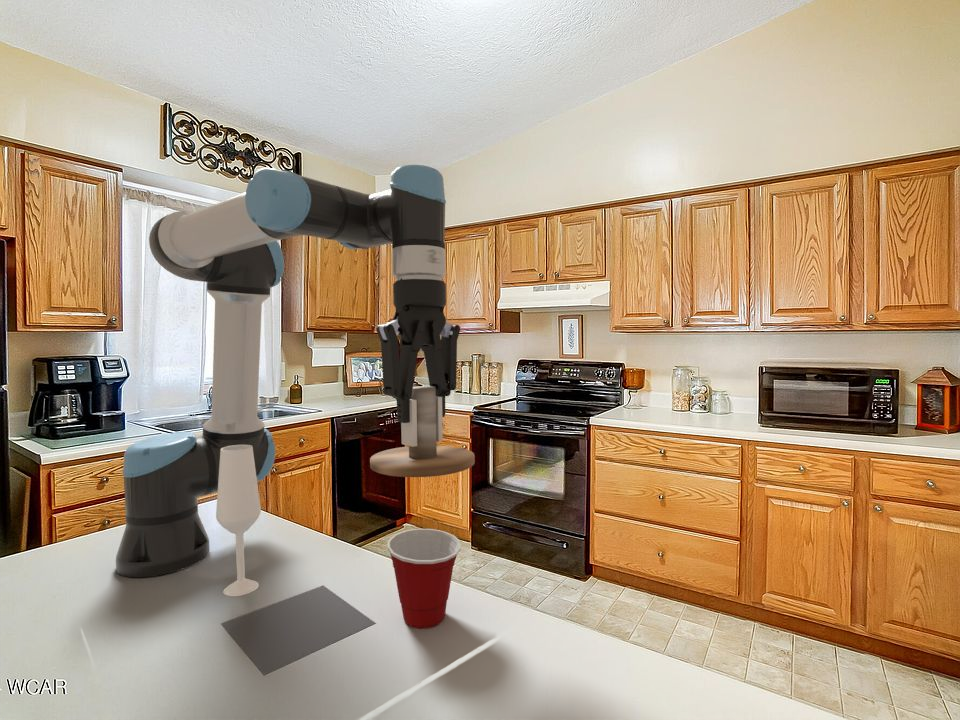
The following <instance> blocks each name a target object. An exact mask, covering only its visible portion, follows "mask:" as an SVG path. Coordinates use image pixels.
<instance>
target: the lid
mask: <svg viewBox="0 0 960 720" xmlns="http://www.w3.org/2000/svg"><path fill="white" fill-rule="evenodd" d="M411 399H414V400H416V401H417V446H414V447H412V446H408V445H407V446H402V447H401V446H400V447H395V448H390V449H385V450H382V451H379V452H377V453H374V454H373V455H371V457H370V458H369V468H370V469H371V471H374V472H375V473H378V474H380V475H385V476H390V477H398V478H430V477H441V476H446V475H451V474H456V473H460V472H464V471H467V470H468V469H470V468H472V467H473V466H474V465H475V463H476V460H475V459H476V456H475V453H474V452H473V451H471V450H470V449H467V448H464V447H463V448H462V447H458V446H452V445H451V446H450V445H439V444H438V445H437V442H438V441H436V387H433V386H430V385H428V386H426V385H424V386H423V385H421V386H418V385H417V386H413V390H412V397H411Z"/></svg>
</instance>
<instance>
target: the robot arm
mask: <svg viewBox="0 0 960 720" xmlns="http://www.w3.org/2000/svg"><path fill="white" fill-rule="evenodd" d="M389 187H390V188H389V189H387V190H386V189H385V190H384V191H380V192H377V193H372V194H370V193H363V192H360V191H356V190H353V189H348V188H345V187H342V186H339V185H335V184H331V183H328V182H324V181H320V180H318V179H314V178H310V177H307V176H303V175H300V174H297V173H295V172H293V171H290V170H280V169H276V168H271V167H270V168H269V167H264V168H260V169H258V170H256V172H254V173H253V176H252V178H250V179H249V181H248V183H247V185H246V191H245V192H243V193H241V194H239V195H235V196H232V197H230V198H228V199H225V200H223V201H219V202H217V203H214V204H212V205H209V206H206V207H204V208H202V209H198V210H195V211H194V212H193V211H192V212H191V211H187V210H180V211H179V210H177V211H174V212H172V213H169V214H166V215H164V216H163V217H161V218H159V219H158V220H157V221H156V222H155V223H154V224H153V226H152V228H151V230H150V233H149V236H148V242H149V243H148V244H149V249H150V252H151V255H152V257H153V258H154V260H155V261H156V262H157V263H158V264H159V265H160V266H161V267H162V268H163V269H164V270H166V271H167V272H169V273H170V274H173V275H174V276H176V277H179V278H182V279H185V280H188V281H195V282H204V283H206V292H207V293H208V294H209V295H210V296H211V298H212V299H214V319H213V321H214V323H213V324H214V325H213V326H214V327H213V354H212V355H213V358H212V359H213V362H212V390H211V416H210V418H208V420H206V421H205V422H204V423H203V425H202V436H199V437H197V436H196V435H195V434H194V432H191V431H176V432H172V433H163V434H159V435H158V434H157V435H154V436H151V437H148V438H145V439H142V440H138V441H136V442H134V443H133V444H131V445H130V446H128V447H127V448H126V450H125V451H124V454H123V466H122V467H123V469H122V472H121V473H122V476H123V485H124V488H123V490H124V508H125V509H124V511H125V528H124V531H123V533H122V538H121V540H120V544H119V547H118V549H117V553H116V556H115V569H116V573H118V574H119V575H120V576H123V577H128V578H129V577H130V578H147V577H150V578H151V577H157V576H161V575H167V574H171V573H175V572H178V571H181V570H184V569H187V568H189V567H191V566H193V565H197V564H198V563H199V562H201V561H203V560H204V559H205V558H206V557H208V555H209V554H210V551H211V550H210V549H211V547H210V538H209V536H208V534H207V532H206V529H205V526H204V524H203V522H202V520H201V517H200V515H199V508H198V507H199V505H198V504H199V502H198V501H199V499H198V498H199V497H204V496H208V495H212V494H216V493H217V494H218V480H219V465H220V450H221V448H223V447H227V446H232V445H252V447H253V454H254V462H255V469H256V477H257V483H258V482H260V481H263V480H264V479H265V478H266V477H267V476H268V475H269V474H270V473H271V471H272V469H273V466H274V464H275V461H276V443H275V442H273V441H274V437H273V434H272V433H271V432H270V431H269V430H268V429H267V428H265V422H264V421H263V420H261V418H259V417H258V404H259V402H258V401H259V400H258V399H259V385H260V384H259V379H260V361H261V360H260V359H261V358H260V357H261V354H260V353H261V336H262V335H261V334H262V333H261V331H262V308H263V306H262V305H263V303H264V302H265V301H266V300H268V299H269V298H270V297H271V289H272V288H274V287H276V286H277V285H279V284H280V282H281V278H283V277H284V276H283V275H284V272H285V271H284V270H285V261H284V260H285V259H284V254H283V250H282V247H281V245H280V243H279V242H278V241H280V240H286V239H290V238H294V237H298V236H306V237H315V238H319V239H320V238H321V239H325V240H331V241H336V242H337V243H339V244H341V246H343V247H344V248H347V249H350V250H359V249H362V250H368V249H371V248H374V247H380V246H385V245H389V244H391V247H392V248H391V249H392V251H391V253H392V257H391V258H392V259H391V260H392V276H393V278H395V279H396V280H395V281H394V283H392V289H393V290H392V294H393V296H392V298H393V300H392V301H393V302H392V303H393V306H394V307H395V313H394V315H393V318H392V320H391V321H389V322H387V323H385V324H383V323H382V324H378V325H377V326H376V329H375V330H376V332H377V335H378V338H379V340H380V347H381V348H380V349H381V365H382V366H381V368H382V386H383V393H384V395H385V396H389V397H392V398H393V399H395V400H396V420H397V422H398V423H400V428H401V429H400V430H401V431H400V432H401V437H400V438H401V445H404V446H407V447H408V446H412V447H414V446H417V401H416V400H414V399H411V397H412V390H413V387H414V383H415V382H414V381H415V376H416V368H417V362H418V354H419V352H420V351H422V352H423V354H424V361H425V362H424V363H425V367H426V372H427V373H426V374H427V377H428V378H427V379H428V382H429V383H428V384H429V386H433V387H436V442H438V443H439V442H444V439H443V438H444V433H443V429H444V428H443V427H444V425H443V418H445V416H446V397H449V396H451V392H452V391H455V390H456V389H457V373H458V372H457V367H458V366H457V363H458V362H457V361H458V354H457V353H458V348H457V347H458V339H459V334H460V331H461V326H460V325H459V324H452V323H450V322H449V321H447V319H446V316H445V312H444V309H445V306H446V305H447V283H445V281H444V280H442V279H444V278H445V277H446V275H447V273H446V271H447V270H446V266H447V265H446V264H447V263H446V243H445V241H446V240H445V234H446V231H445V230H446V229H445V228H446V224H445V223H446V203H447V202H446V198H445V197H446V196H445V195H446V194H445V184H444V177H443V175H442V173H441V172H440V171H439V170H438V169H436V168H434V167H431V166H427V165H423V164H407V165H401V166H398V167H396V168H395V169H394V170H393V171H392V172H391V174H390V183H389ZM399 335H400V341H399V340H398V336H399Z"/></svg>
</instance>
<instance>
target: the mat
mask: <svg viewBox="0 0 960 720" xmlns="http://www.w3.org/2000/svg"><path fill="white" fill-rule="evenodd" d="M375 624H377V623H376V622H375V621H373V620H372V618H370V617H368V616H367V615H365V614H364V613H362V612H361V611H360V610H358V609H356V608H355V607H354V606H353V605H352V604H350V603H348V602H347V601H345V599H343V598H342V597H340V596H339V595H337V594H336V593H335V592H333V591H332V590H331V589H329V588H328V587H326V586H325V585H320V586H318V587H315V588H312V589H310V590H306V591H304V592H301V593H299V594H295V595H293V596H291V597H288V598H284V599H282V600H280V601H277V602H274V603H272V604H269V605H266V606H264V607H261V608H258V609H256V610H253V611H251V612H248V613H245V614H243V615H239V616H237V617H235V618H232V619H229V620H227V621H224V622H221V623H220V625H221V626H222V627H223V628H224V630H225V631H226V632H227V634H229V635H230V637H231V638H232V639H233V641H234V642H235V643H236V644H237V645H238V647H240V649H241V650H242V651H243V652H244V654H246V655H247V657H248V658H249V659H250V661H251V663H253V664H254V666H256V668H257V669H258V670H259V671H260V672H261V674H262V675H263V676H266V675H268V674H270V673H273V672H274V671H276V670H278V669H280V668H283V667H286V666H287V665H289V664H291V663H294V662H296V661H299V660H300V659H302V658H304V657H307V656H309V655H312V654H313V653H316V652H318V651H320V650H321V649H324V648H326V647H328V646H330V645H333V644H334V643H336V642H339V641H341V640H343V639H345V638H348V637H350V636H352V635H354V634H356V633H358V632H360V631H363V630H366V628H369V627H371V626H373V625H375Z"/></svg>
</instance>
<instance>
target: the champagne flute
mask: <svg viewBox="0 0 960 720" xmlns="http://www.w3.org/2000/svg"><path fill="white" fill-rule="evenodd" d="M258 486H259V485H258V482H257V477H256V469H255V462H254V454H253V447H252V445H232V446H227V447H223V448H221V450H220V465H219V480H218V492H217V494H216V495H217V496H216V511H215V519H216V521H217V523H218V524H219V525H220V526H221V527H222V528H223V529H225V530H226V531H228V532H229V533H231V534H233V535H235V554H236V556H235V557H236V560H235V561H236V580H235V581H233V582H231V583H230V584H229V585H227V586H226V587H225V588H224V589H223V594H224V595H226V596H228V597H239V596H244V595H248V594H250V593H252V592H254V591H256V590H257V589H258V588H259V585H260V584H259V582H258V581H257V580H252V579H249V578H246V576H245V575H246V571H245V570H246V569H245V546H244V545H245V540H244V538H245V537H244V533H246V532H247V531H248V530H249V529H250V528H251V527H252V526H253V525H254V524H255V523H256V522H257V521H258V519H259V518H260V515H261V513H262V507H261V501H260V491H259V487H258Z"/></svg>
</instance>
